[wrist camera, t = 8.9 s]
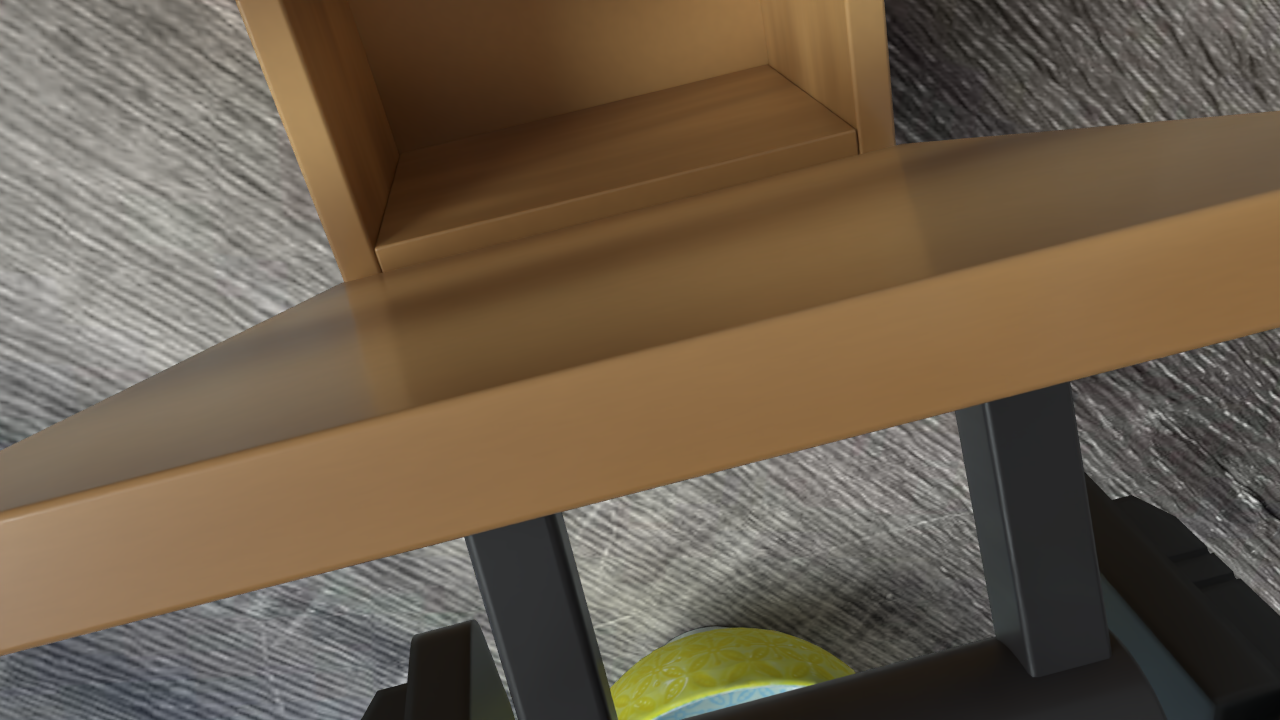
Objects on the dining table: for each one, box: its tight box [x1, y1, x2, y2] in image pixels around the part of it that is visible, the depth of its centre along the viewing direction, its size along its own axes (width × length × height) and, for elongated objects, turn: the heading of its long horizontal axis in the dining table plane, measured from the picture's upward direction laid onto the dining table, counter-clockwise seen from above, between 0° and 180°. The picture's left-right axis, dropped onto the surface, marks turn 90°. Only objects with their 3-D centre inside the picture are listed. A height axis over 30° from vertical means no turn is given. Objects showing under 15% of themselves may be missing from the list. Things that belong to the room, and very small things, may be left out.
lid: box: [0, 111, 1280, 720], centre depth 13 cm, size 14×12×5 cm
